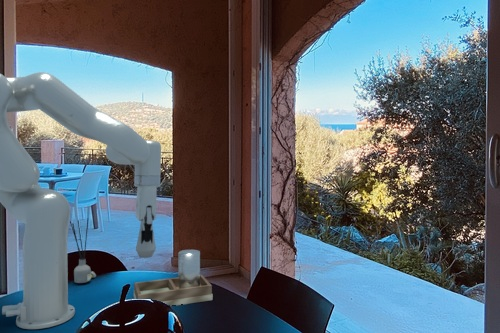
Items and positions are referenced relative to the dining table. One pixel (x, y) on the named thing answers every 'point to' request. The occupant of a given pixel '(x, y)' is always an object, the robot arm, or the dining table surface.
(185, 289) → the divided tray
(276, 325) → the dining table surface
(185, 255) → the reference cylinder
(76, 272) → the reed diffuser
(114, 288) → the dining table surface
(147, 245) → the salt shaker
